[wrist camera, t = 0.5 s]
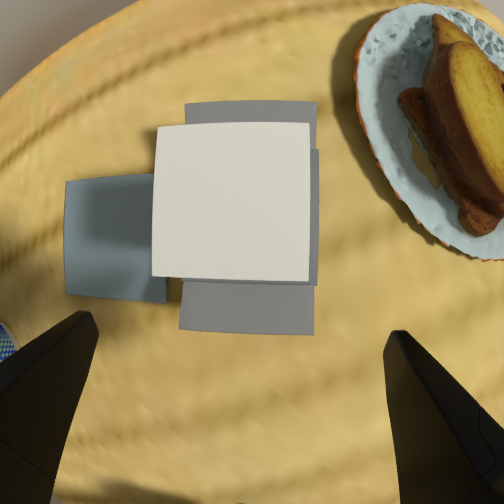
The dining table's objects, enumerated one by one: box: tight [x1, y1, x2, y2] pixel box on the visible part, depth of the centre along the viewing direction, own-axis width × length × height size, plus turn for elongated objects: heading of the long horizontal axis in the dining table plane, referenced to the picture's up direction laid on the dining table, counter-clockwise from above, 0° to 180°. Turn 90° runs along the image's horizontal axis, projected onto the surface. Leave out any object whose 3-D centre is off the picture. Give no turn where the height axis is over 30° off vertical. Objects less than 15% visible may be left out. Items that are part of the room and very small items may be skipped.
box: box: [152, 122, 310, 281], centre depth 16 cm, size 5×5×12 cm
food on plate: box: [353, 2, 504, 262], centre depth 18 cm, size 25×25×7 cm
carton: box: [179, 100, 319, 335], centre depth 20 cm, size 14×8×5 cm, turn 179°
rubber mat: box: [64, 173, 167, 303], centre depth 23 cm, size 10×10×1 cm
